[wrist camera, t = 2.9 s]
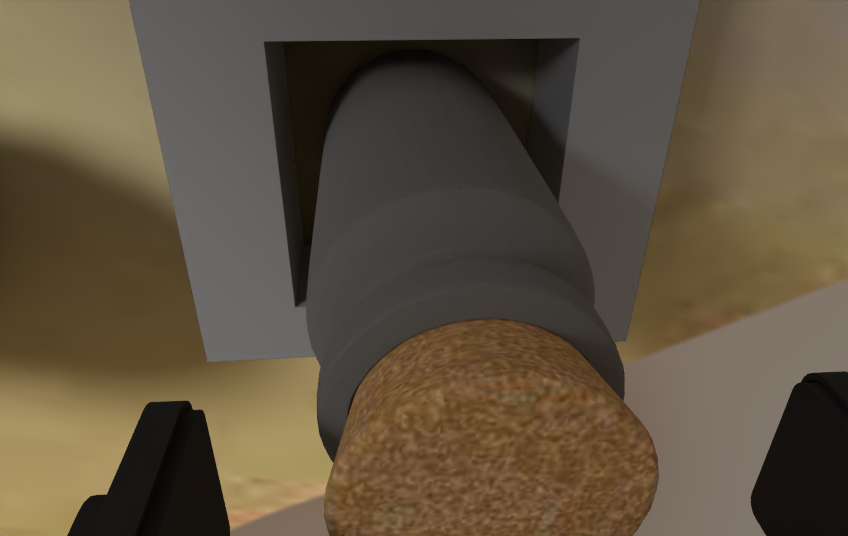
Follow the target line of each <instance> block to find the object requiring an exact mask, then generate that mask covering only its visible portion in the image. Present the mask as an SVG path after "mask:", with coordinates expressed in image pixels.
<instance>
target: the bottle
mask: <svg viewBox="0 0 848 536" xmlns="http://www.w3.org/2000/svg"><path fill="white" fill-rule="evenodd" d="M594 303H595V288H594V281H593V274H592V270H591V267H590V263H589V260H588V258H587V255H586V252H585V250H584V248H583V247H582V245H581V243H580V241H579V239H578V237H577V235H576V233H575V231H574V229H573V227H572V226H571V224H570V222H569V221H568V219H567V217H566V216H565V214H564V212H563V211H562V209H561V207H560V206H559V204H558V202H557V201H556V199H555V197H554V196H553V194H552V192H551V191H550V189H549V187H548V186H547V184H546V182H545V181H544V179H543V177H542V176H541V174H540V173H539V171H538V169H537V168H536V166H535V164H534V163H533V161H532V160H531V158H530V156H529V155H528V153H527V151H526V150H525V148H524V147H523V145H522V143H521V142H520V140H519V139H518V137H517V135H516V134H515V132H514V130H513V129H512V127H511V126H510V124H509V122H508V121H507V119H506V117H505V116H504V114H503V113H502V111H501V109H500V108H499V106H498V105H497V103H496V102H495V100H494V99H493V97H492V96H491V94H490V93H489V91H488V90H487V88H486V87H485V85H484V84H483V83H482V82H481V81H480V80H479V79H478V77H477V76H476V75H475V74H474V73H473V72H472V71H470V70H469V69H468V68H467V67H465V66H464V65H463V64H461V63H459V62H457V61H456V60H454V59H452V58H450V57H448V56H445V55H443V54H439V53H435V52H431V51H422V50H404V51H398V52H393V53H390V54H387V55H385V56H382V57H379V58H377V59H374V60H372V61H371V62H369V63H367V64H366V65H364V66H363V67H362V68H360V69H359V70H357V71H356V72H355V73H354V74H353V75H352V76H351V77H350V78H349V79H348V80H347V82H346V83H345V84H344V85H343V86H342V88H341V90H340V91H339V93H338V95H337V96H336V98H335V100H334V103H333V105H332V108H331V110H330V114H329V118H328V123H327V127H326V133H325V140H324V147H323V155H322V163H321V171H320V179H319V187H318V195H317V203H316V212H315V221H314V229H313V238H312V246H311V255H310V263H309V274H308V287H307V299H306V320H307V329H308V334H309V339H310V343H311V347H312V349H313V351H314V354H315V356H316V358H317V360H318V362H319V364H320V366H321V368H320V373H319V381H318V390H317V420H318V427H319V434H320V437H321V439H322V442H323V445H324V447H325V449H326V451H327V453H328V455H329V457H330V459H331V460H332V462H333V463H334V464H333V467H332V470H331V474H330V477H329V480H328V483H327V487H326V492H325V502H324V517H325V521H326V525H327V529H328V532H329V535H330V536H633V534H634V533H635V532H636V531H637V530H638V528H639V526H640V525H641V523H642V522H643V520H644V518H645V517H646V515H647V514H648V512H649V511H650V509H651V506H652V503H653V499H654V496H655V493H656V489H657V484H658V479H659V475H658V458H657V454H656V451H655V447H654V444H653V440H652V438H651V437H650V435H649V433H648V431H647V429H646V428H645V427H644V425H643V424H642V423H641V421H640V420H639V419H638V417H637V416H636V415H635V414H634V413H633V412H632V411H631V410H630V408H629V407H628V406H627V405H626V404H625V403H624V402H623V400H624V369H623V364H622V361H621V359H620V356H619V353H618V350H617V348H616V345H615V343H614V341H613V339H612V337H611V335H610V333H609V331H608V329H607V327H606V325H605V324H604V322H603V321H602V319H601V317H600V316H599V314H598V313H597V311H596V309H595V308H594Z"/></svg>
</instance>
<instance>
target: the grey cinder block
mask: <svg viewBox="0 0 848 536" xmlns="http://www.w3.org/2000/svg"><path fill="white" fill-rule="evenodd" d="M129 3H130V8H131V12H132V17H133V22H134V26H135V31H136V35H137V40H138V45H139V49H140V54H141V58H142V63H143V68H144V72H145V77H146V81H147V86H148V91H149V95H150V100H151V104H152V109H153V114H154V118H155V123H156V128H157V132H158V137H159V141H160V146H161V151H162V155H163V160H164V164H165V169H166V174H167V178H168V183H169V187H170V192H171V197H172V201H173V206H174V210H175V215H176V220H177V224H178V229H179V234H180V238H181V243H182V247H183V252H184V257H185V261H186V266H187V270H188V275H189V280H190V284H191V289H192V293H193V298H194V303H195V307H196V312H197V316H198V321H199V326H200V330H201V335H202V340H203V344H204V349H205V353H206V358H207V362H220V361H240V360H259V359H279V358H299V357H316V356H315V354H314V351H313V349H312V347H311V343H310V339H309V334H308V329H307V320H306V299H307V287H308V274H309V263H310V255H311V246H312V244H306V245H304V241H303V231H302V222H301V212H300V202H299V192H298V183H297V173H296V163H295V153H294V144H293V134H292V124H291V114H290V105H289V95H288V85H287V75H286V66H285V56H284V46H283V41H359V40H452V39H539V43H538V53H537V64H536V74H535V84H534V94H533V104H532V114H531V124H530V134H529V145H528V155H529V156H530V158H531V160H532V161H533V163H534V164H535V166H536V168H537V169H538V171H539V173H540V174H541V176H542V177H543V179H544V181H545V182H546V184H547V186H548V187H549V189H550V191H551V192H552V194H553V196H554V197H555V199H556V201H557V202H558V204H559V206H560V207H561V209H562V211H563V212H564V214H565V216H566V217H567V219H568V221H569V222H570V224H571V226H572V227H573V229H574V231H575V233H576V235H577V237H578V239H579V241H580V243H581V245H582V247H583V248H584V250H585V252H586V255H587V258H588V260H589V263H590V267H591V270H592V274H593V281H594V288H595V303H594V308H595V309H596V311H597V313H598V314H599V316H600V317H601V319H602V321H603V322H604V324H605V325H606V327H607V329H608V331H609V333H610V335H611V337H612V339H613V341H614V342H615V341H626V338H627V333H628V329H629V324H630V320H631V315H632V311H633V306H634V301H635V297H636V292H637V288H638V283H639V279H640V274H641V269H642V265H643V260H644V256H645V251H646V247H647V242H648V238H649V233H650V228H651V224H652V219H653V215H654V210H655V206H656V201H657V196H658V192H659V187H660V183H661V178H662V174H663V169H664V165H665V160H666V155H667V151H668V146H669V142H670V137H671V133H672V128H673V123H674V119H675V114H676V110H677V105H678V101H679V96H680V91H681V87H682V82H683V78H684V73H685V69H686V64H687V60H688V55H689V50H690V46H691V41H692V37H693V32H694V28H695V23H696V18H697V14H698V9H699V5H700V0H129Z"/></svg>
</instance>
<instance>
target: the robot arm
mask: <svg viewBox="0 0 848 536" xmlns="http://www.w3.org/2000/svg"><path fill="white" fill-rule="evenodd" d="M751 507H752V511H753V514H754V516H755V518H756V520H757V521H758V523H759V524H760V526H761V528H762V529H763V531H764V533H765V534H766V536H848V372H823V373H810V374H807V375H806V376H805V377H804V378H803V380H802V381H801V383H798V384H796V385H795V386H794V388H793V390H792V393H791V395H790V398H789V400H788V403H787V405H786V408H785V410H784V413H783V416H782V418H781V420H780V423H779V426H778V428H777V431H776V433H775V436H774V438H773V441H772V443H771V446H770V449H769V451H768V453H767V456H766V459H765V461H764V464H763V466H762V469H761V471H760V474H759V476H758V479H757V481H756V484H755V486H754V489H753V491H752V495H751ZM67 536H230V526H229V520H228V516H227V511H226V507H225V502H224V498H223V494H222V489H221V485H220V480H219V476H218V471H217V467H216V462H215V458H214V453H213V449H212V445H211V440H210V436H209V431H208V427H207V422H206V418H205V414H204V412H203V410H193V409H192V406H191V404H190V402H189V401H168V402H150V403H148V404H147V405H146V407H145V408H144V410H143V412H142V415H141V417H140V419H139V422H138V424H137V426H136V429H135V431H134V433H133V435H132V438H131V440H130V442H129V445H128V447H127V449H126V452H125V454H124V456H123V459H122V461H121V463H120V466H119V468H118V470H117V473H116V475H115V477H114V479H113V482H112V484H111V486H110V489H109V491H108V493H107V495H95V496H90V497H89V498H88V499H87V500H86V501H85V502H84V503H83V505H82V507H81V508H80V510H79V512H78V514H77V516H76V518H75V520H74V522H73V524H72V527H71V529H70V531H69V533H68V535H67Z"/></svg>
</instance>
